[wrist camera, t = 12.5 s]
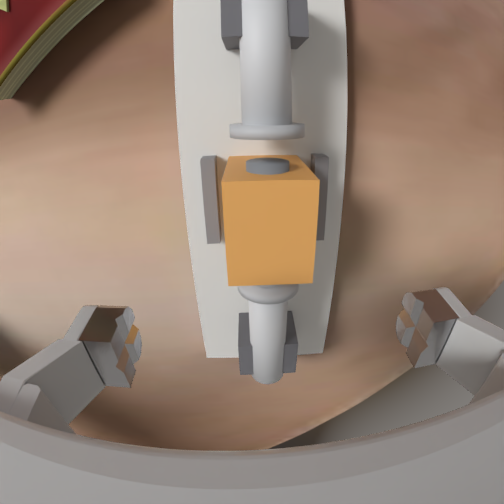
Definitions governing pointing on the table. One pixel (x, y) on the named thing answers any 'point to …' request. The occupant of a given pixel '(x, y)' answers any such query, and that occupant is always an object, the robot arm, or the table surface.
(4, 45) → the hardcover book
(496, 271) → the table surface
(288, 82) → the shaft rig
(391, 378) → the table surface
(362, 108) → the table surface
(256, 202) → the block
